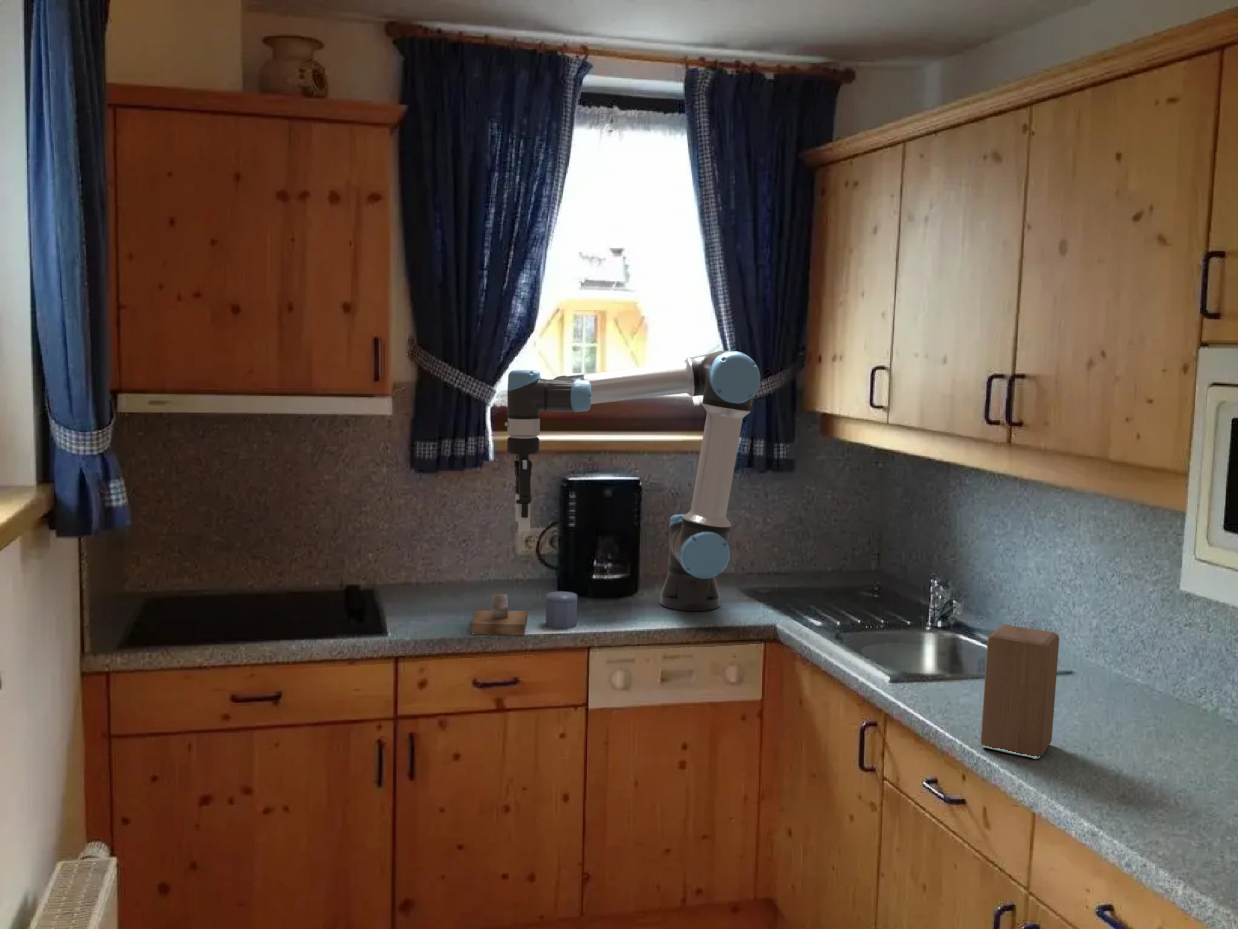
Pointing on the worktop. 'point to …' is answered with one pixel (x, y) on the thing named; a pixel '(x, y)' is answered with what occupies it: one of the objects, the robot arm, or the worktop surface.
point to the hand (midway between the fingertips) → (522, 526)
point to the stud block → (499, 619)
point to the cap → (561, 609)
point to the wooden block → (1019, 689)
